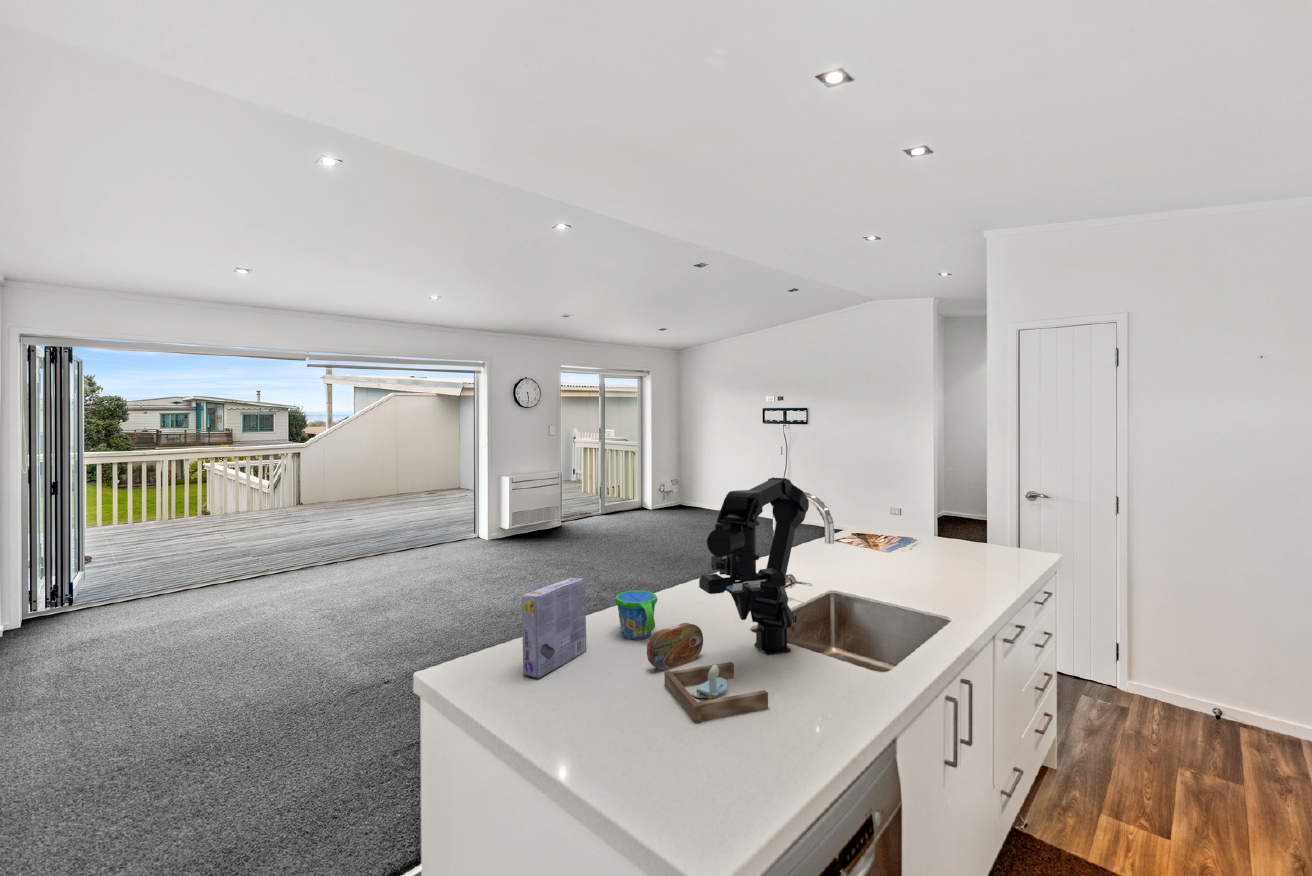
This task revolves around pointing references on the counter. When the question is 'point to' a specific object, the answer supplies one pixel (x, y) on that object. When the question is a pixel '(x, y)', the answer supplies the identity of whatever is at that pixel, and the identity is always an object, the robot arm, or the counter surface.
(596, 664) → the counter surface
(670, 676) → the walnut bay
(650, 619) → the snack cup
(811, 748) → the counter surface
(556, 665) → the cake pan box
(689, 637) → the tin
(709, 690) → the pacifier
